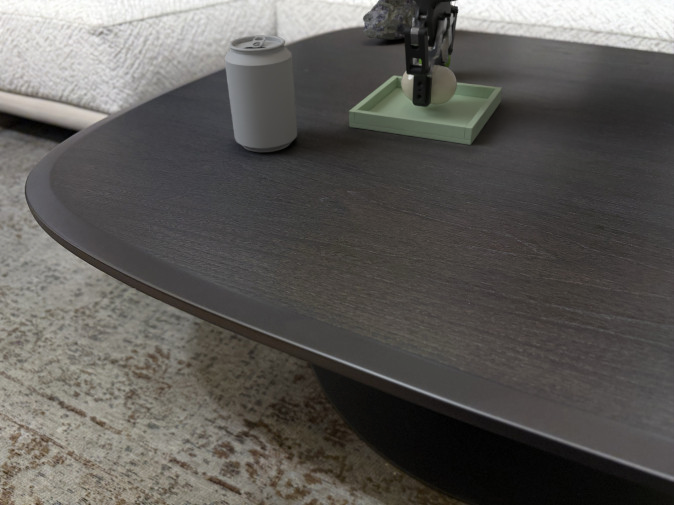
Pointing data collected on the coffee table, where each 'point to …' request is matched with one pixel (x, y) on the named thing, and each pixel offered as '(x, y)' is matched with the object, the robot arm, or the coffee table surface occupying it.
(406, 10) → the mineral rock
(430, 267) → the coffee table surface
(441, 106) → the tray
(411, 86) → the cream lobed oval
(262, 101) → the can
